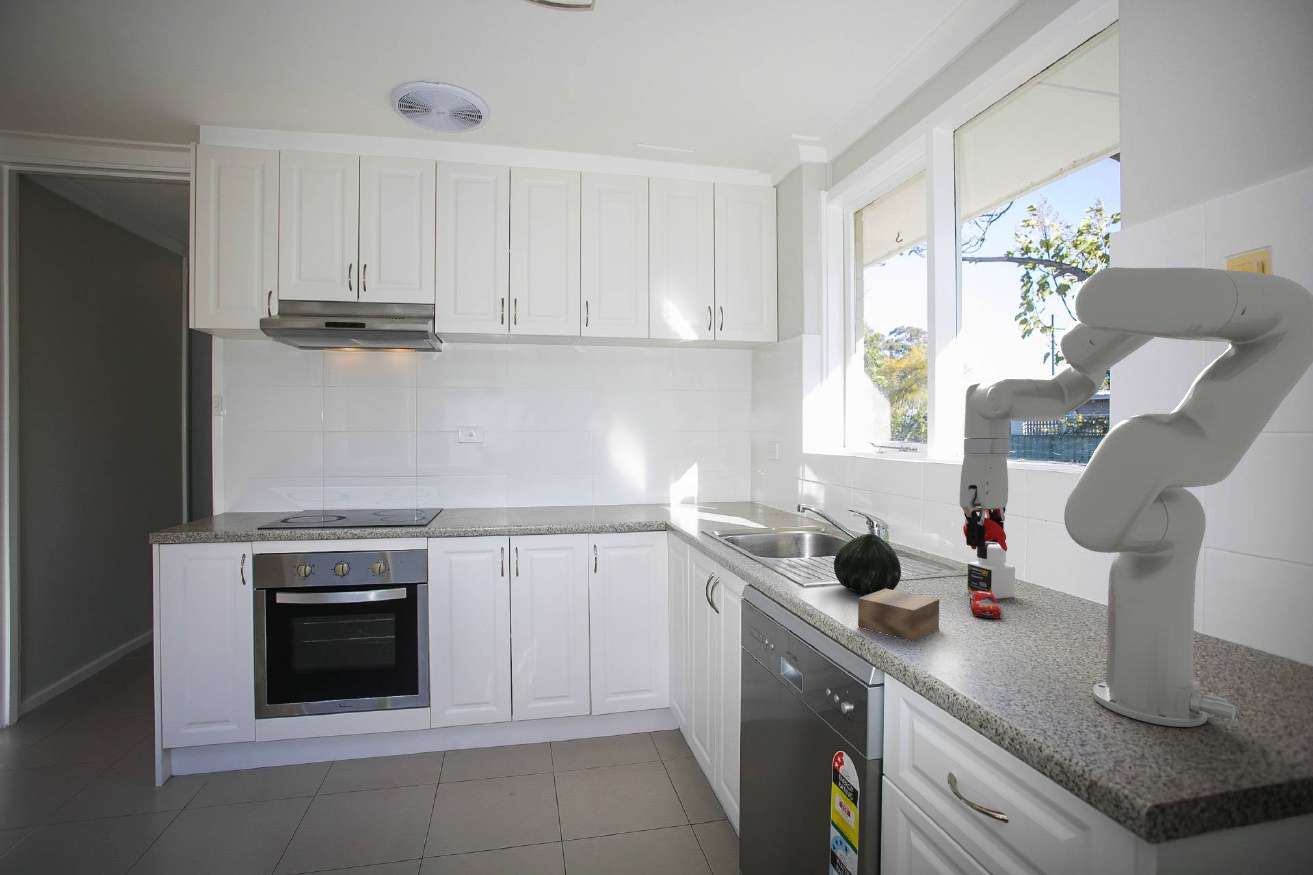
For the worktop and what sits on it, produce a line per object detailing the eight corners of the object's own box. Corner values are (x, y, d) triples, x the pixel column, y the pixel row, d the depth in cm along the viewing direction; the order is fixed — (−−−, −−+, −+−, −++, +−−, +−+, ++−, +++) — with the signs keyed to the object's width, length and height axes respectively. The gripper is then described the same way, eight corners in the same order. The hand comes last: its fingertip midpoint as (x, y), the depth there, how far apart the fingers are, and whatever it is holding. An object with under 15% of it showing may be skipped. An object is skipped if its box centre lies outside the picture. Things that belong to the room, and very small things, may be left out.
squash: (855, 557, 163) (840, 518, 155) (914, 569, 154) (902, 528, 145) (834, 602, 156) (818, 563, 148) (896, 617, 146) (881, 576, 138)
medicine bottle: (966, 591, 152) (967, 541, 151) (990, 589, 154) (991, 540, 154) (990, 599, 145) (991, 547, 145) (1015, 597, 147) (1016, 545, 147)
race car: (1001, 623, 129) (1002, 603, 129) (971, 619, 131) (972, 600, 131) (996, 606, 141) (996, 588, 141) (969, 603, 143) (969, 585, 143)
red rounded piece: (955, 531, 118) (986, 517, 115) (958, 517, 123) (988, 503, 119) (982, 566, 118) (1013, 553, 114) (984, 550, 123) (1014, 537, 119)
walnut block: (938, 629, 124) (939, 599, 123) (913, 643, 116) (913, 610, 116) (885, 617, 132) (885, 588, 131) (857, 628, 124) (858, 598, 124)
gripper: (987, 447, 127) (986, 536, 127) (943, 448, 116) (941, 546, 116) (1027, 448, 121) (1026, 542, 121) (985, 449, 110) (983, 552, 111)
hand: (985, 543), depth 119 cm, fingers closed on red rounded piece, 6 cm apart
